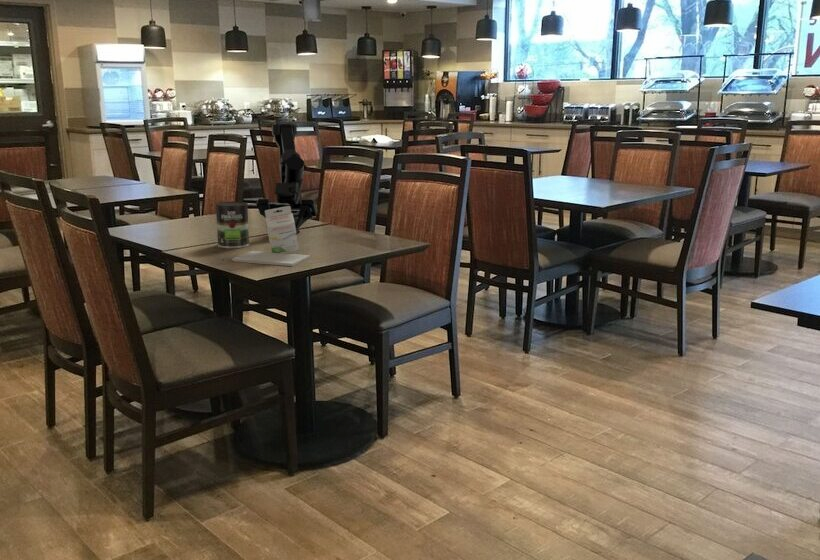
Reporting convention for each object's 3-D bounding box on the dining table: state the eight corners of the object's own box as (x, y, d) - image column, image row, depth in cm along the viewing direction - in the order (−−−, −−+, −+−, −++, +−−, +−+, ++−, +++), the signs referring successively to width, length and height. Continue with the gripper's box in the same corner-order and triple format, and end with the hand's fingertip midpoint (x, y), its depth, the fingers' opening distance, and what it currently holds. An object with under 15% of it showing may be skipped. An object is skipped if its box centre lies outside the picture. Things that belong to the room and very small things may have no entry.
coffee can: (249, 248, 242) (247, 205, 239) (217, 249, 240) (214, 206, 237) (249, 242, 252) (247, 200, 249) (218, 243, 250) (216, 201, 247)
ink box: (272, 255, 233) (265, 220, 222) (269, 244, 236) (262, 209, 226) (299, 249, 235) (293, 215, 224) (296, 239, 238) (291, 204, 227)
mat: (232, 261, 223) (232, 258, 223) (252, 253, 235) (252, 250, 234) (292, 266, 218) (292, 263, 217) (310, 257, 229) (310, 255, 228)
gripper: (256, 173, 234) (245, 211, 225) (314, 173, 231) (304, 212, 222) (266, 195, 243) (256, 233, 234) (321, 196, 240) (313, 234, 231)
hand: (281, 228), depth 230 cm, fingers open, 9 cm apart
